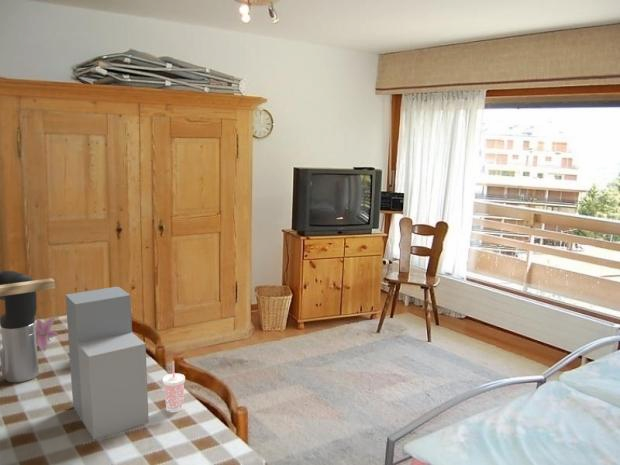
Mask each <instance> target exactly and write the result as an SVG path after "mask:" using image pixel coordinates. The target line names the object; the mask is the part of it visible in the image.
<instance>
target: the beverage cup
mask: <svg viewBox="0 0 620 465" xmlns="http://www.w3.org/2000/svg"><path fill="white" fill-rule="evenodd" d="M185 382H186V376H185V375H184V374H182V373H177V372H175V360H172V373H169V374H166V375H164V376H163V377H162V384H163V390H164V391H163V392H164V397H165V398H164V399H165V408H166V411H167V412H168V411H169V412H168V413H177V412H180V410H181V411H183V408H184V400H185V398H184V396H185V393H184V391H185Z"/></svg>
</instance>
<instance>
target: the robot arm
mask: <svg viewBox="0 0 620 465" xmlns="http://www.w3.org/2000/svg"><path fill="white" fill-rule="evenodd" d="M27 281H34V279H33V278H32V277H31V276H30V275H27V274H25V273H22V272H18V271H14V270H0V285H5V284H12V283H20V282H27ZM0 300H1V301H2V302H4V308H5V312H4V313H3V314H2V315H1V316H0V332H1V343H2V348H1V349H0V365H1V376H2V380H6V381H7V382H9V383H22V382H27V381H30V380H33V379H36V378H37V377H38V376H39V374H40V372H39V371H40V370H39V358H38V357H39V356H38V344H37V342H36V330H35V327H36V320H35V318H36V317H35V316H36V314H37V309H38V308H37V307H38V306H37V291H34V292H27V293H20V294H14V295H7V296H0Z"/></svg>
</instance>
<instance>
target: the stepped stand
mask: <svg viewBox="0 0 620 465" xmlns="http://www.w3.org/2000/svg"><path fill="white" fill-rule="evenodd" d="M131 297H132V296H131V294H129V292H126V291H125V290H124V289H122V288H121V287H119V286H113V287H112V286H111V287H107V288H99V289H94V290H92V289H91V290H87V291H79V292H74V293H68V294H67V293H66V294H65V305H66V306H65V307H66V309H65V310H66V320H67V321H66V322H67V323H66V324H67V335H68V348H69V349H68V351H69V366H70V368H69V369H70V379H71V380H70V381H71V395H72V407H73V409H74V410H75V413H76V414H77V415H78V417H79V419H80V420H81V422H82V423H83V425H84V426H85V428H86V430H87V431H88V432H89V434H90V436H91V437H92V439H93V440H98V439H100V438H104V437H107V436H110V435H114V434H115V433H118V432H119V433H120V432H122V431H125V430H128V429H132V428H134V427H138V426H141V425H143V424H148V423H149V422H150V421H149V398H148V395H149V394H148V375H147V374H148V372H147V349H146V347H147V346H146V343H145V342H144V341H143V340H142V339H141V338H140V337H138V335H136V334H135V333H134V332H133V326H132V325H133V322H132V301H131V300H132V299H131Z"/></svg>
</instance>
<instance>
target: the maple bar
mask: <svg viewBox="0 0 620 465" xmlns="http://www.w3.org/2000/svg"><path fill="white" fill-rule="evenodd" d="M55 284H56V283H55V280H54V279H53V278H51V277H50V278H42V279H35V280H33V281H27V282H20V283H12V284H5V285H0V296H7V295H14V294H20V293H27V292H34V291H36V292H40V291H47V290H54V289H56V285H55Z"/></svg>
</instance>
